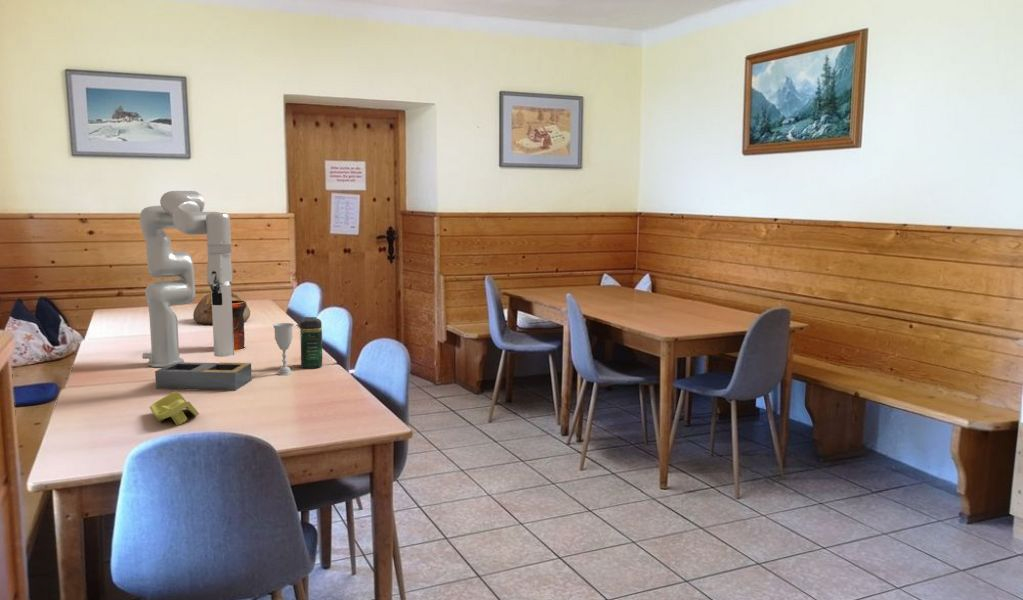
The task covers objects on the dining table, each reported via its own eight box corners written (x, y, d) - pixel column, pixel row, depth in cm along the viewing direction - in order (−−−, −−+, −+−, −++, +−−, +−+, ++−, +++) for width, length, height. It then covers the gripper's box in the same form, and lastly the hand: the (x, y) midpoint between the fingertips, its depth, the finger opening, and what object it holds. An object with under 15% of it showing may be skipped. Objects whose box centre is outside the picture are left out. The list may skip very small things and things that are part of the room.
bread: (184, 324, 386) (183, 294, 384) (211, 317, 409) (210, 289, 407) (233, 326, 382) (232, 296, 379) (258, 319, 404) (256, 290, 402)
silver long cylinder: (227, 357, 262) (224, 282, 258) (210, 356, 263) (206, 282, 260) (238, 353, 268) (234, 280, 265) (221, 352, 269) (217, 280, 266)
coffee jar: (323, 368, 293) (322, 319, 291) (301, 369, 291) (300, 320, 288) (322, 362, 302) (320, 315, 300) (300, 364, 300) (299, 316, 298)
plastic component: (148, 406, 232) (180, 388, 236) (161, 427, 234) (192, 408, 238) (157, 417, 215) (191, 397, 219) (172, 439, 217) (205, 419, 222)
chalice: (299, 372, 286) (297, 323, 284) (287, 376, 280) (286, 326, 277) (281, 370, 289) (280, 322, 286) (270, 374, 282) (268, 325, 280)
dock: (156, 388, 261) (155, 370, 260) (176, 379, 275) (175, 361, 274) (235, 390, 260) (234, 372, 259) (251, 380, 274) (251, 363, 273)
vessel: (203, 350, 324) (201, 302, 322) (227, 345, 337) (226, 298, 335) (230, 353, 319) (229, 304, 317) (254, 347, 332) (253, 300, 330)
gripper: (219, 248, 269) (221, 300, 272) (196, 251, 252) (199, 307, 255) (240, 248, 269) (242, 300, 271) (219, 252, 252) (222, 307, 254)
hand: (221, 303), depth 263 cm, fingers closed on silver long cylinder, 6 cm apart
